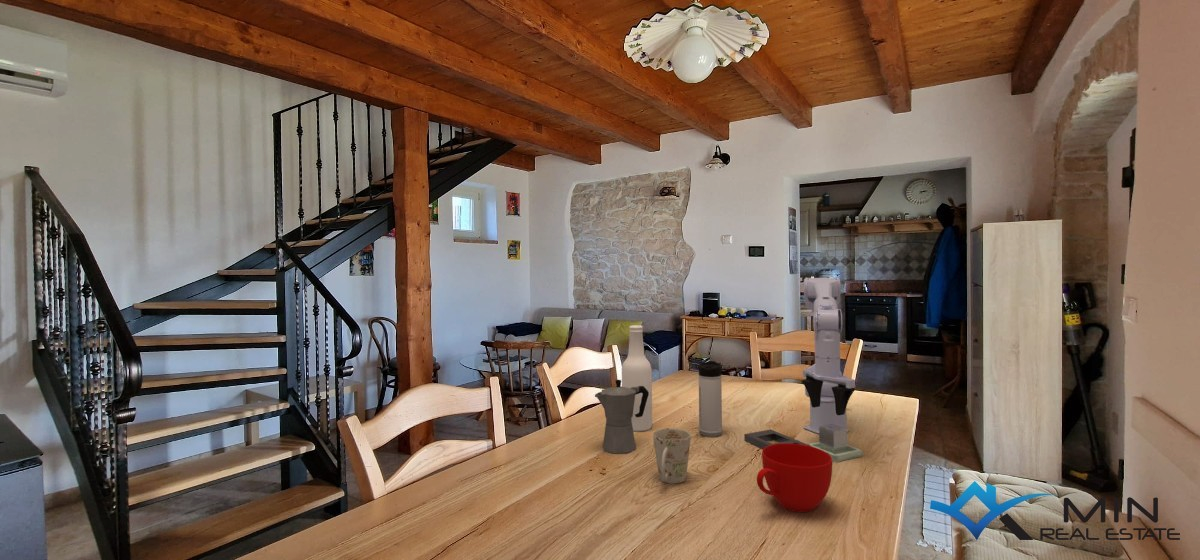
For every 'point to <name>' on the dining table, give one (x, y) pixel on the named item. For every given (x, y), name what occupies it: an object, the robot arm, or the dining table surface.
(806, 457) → the ceramic cup
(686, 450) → the mug
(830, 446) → the grey rectangular block
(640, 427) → the alcohol
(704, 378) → the travel mug
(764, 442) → the dark grey flat frame
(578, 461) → the dining table surface
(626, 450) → the coffeepot
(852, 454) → the tray
